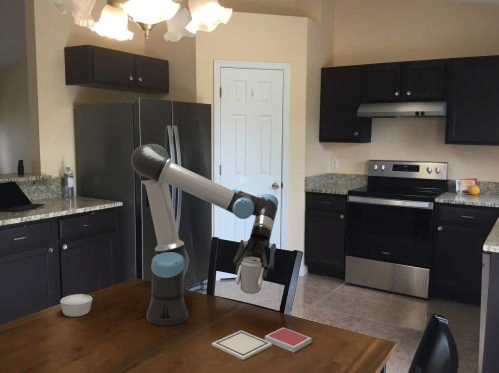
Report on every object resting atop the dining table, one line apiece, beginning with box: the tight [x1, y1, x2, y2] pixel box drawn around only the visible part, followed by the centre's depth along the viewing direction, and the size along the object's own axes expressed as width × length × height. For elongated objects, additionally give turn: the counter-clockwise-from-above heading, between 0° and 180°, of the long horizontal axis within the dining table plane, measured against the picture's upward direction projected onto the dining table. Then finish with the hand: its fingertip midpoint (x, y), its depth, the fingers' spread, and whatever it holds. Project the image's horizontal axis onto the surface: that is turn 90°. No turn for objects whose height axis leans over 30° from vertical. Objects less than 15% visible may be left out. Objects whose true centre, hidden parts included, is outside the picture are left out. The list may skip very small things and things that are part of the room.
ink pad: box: [264, 327, 312, 353], centre depth 154 cm, size 12×10×2 cm
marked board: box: [211, 330, 273, 361], centre depth 150 cm, size 14×14×1 cm
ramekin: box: [59, 293, 93, 318], centre depth 174 cm, size 11×11×5 cm
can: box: [239, 256, 263, 295], centre depth 165 cm, size 8×8×12 cm
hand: (248, 284), depth 162 cm, fingers closed on can, 7 cm apart
